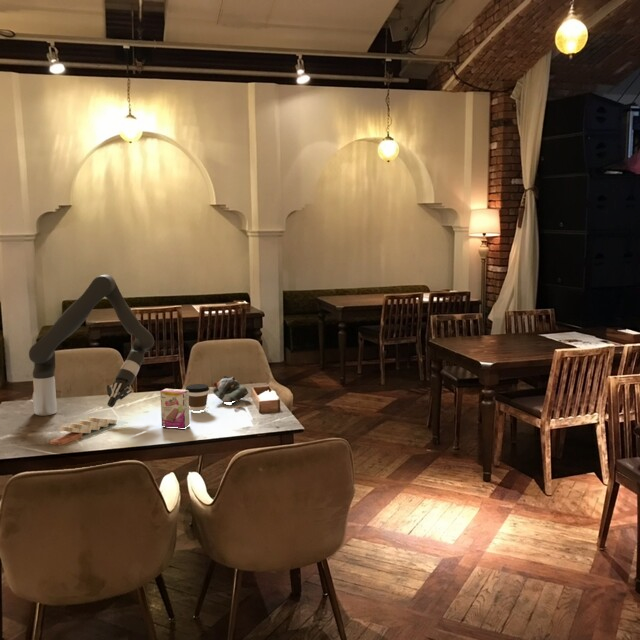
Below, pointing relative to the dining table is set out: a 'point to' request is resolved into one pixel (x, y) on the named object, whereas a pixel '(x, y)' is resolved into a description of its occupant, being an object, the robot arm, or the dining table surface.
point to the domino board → (102, 429)
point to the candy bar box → (175, 408)
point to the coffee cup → (197, 396)
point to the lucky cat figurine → (229, 390)
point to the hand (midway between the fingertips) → (109, 406)
